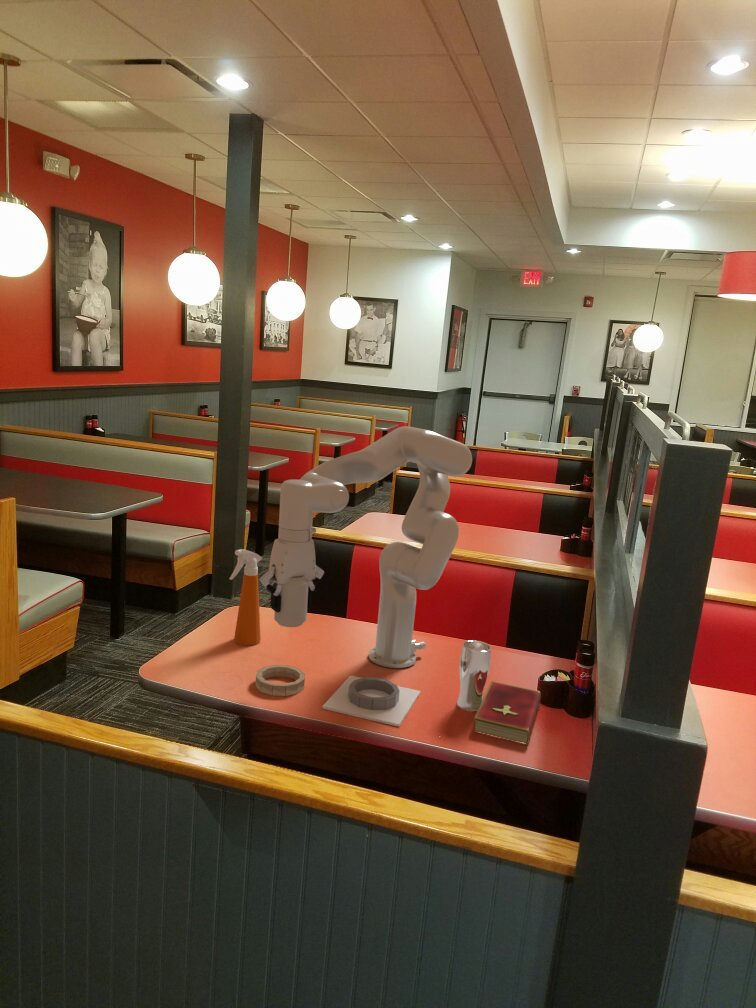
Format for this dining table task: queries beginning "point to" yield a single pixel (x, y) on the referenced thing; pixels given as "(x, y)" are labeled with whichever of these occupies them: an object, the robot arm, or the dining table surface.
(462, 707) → the silver tumbler
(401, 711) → the holder
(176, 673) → the dining table surface
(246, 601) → the spray bottle
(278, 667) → the stand ring
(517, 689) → the hardcover book
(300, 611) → the can
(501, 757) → the dining table surface
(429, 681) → the dining table surface
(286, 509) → the robot arm
